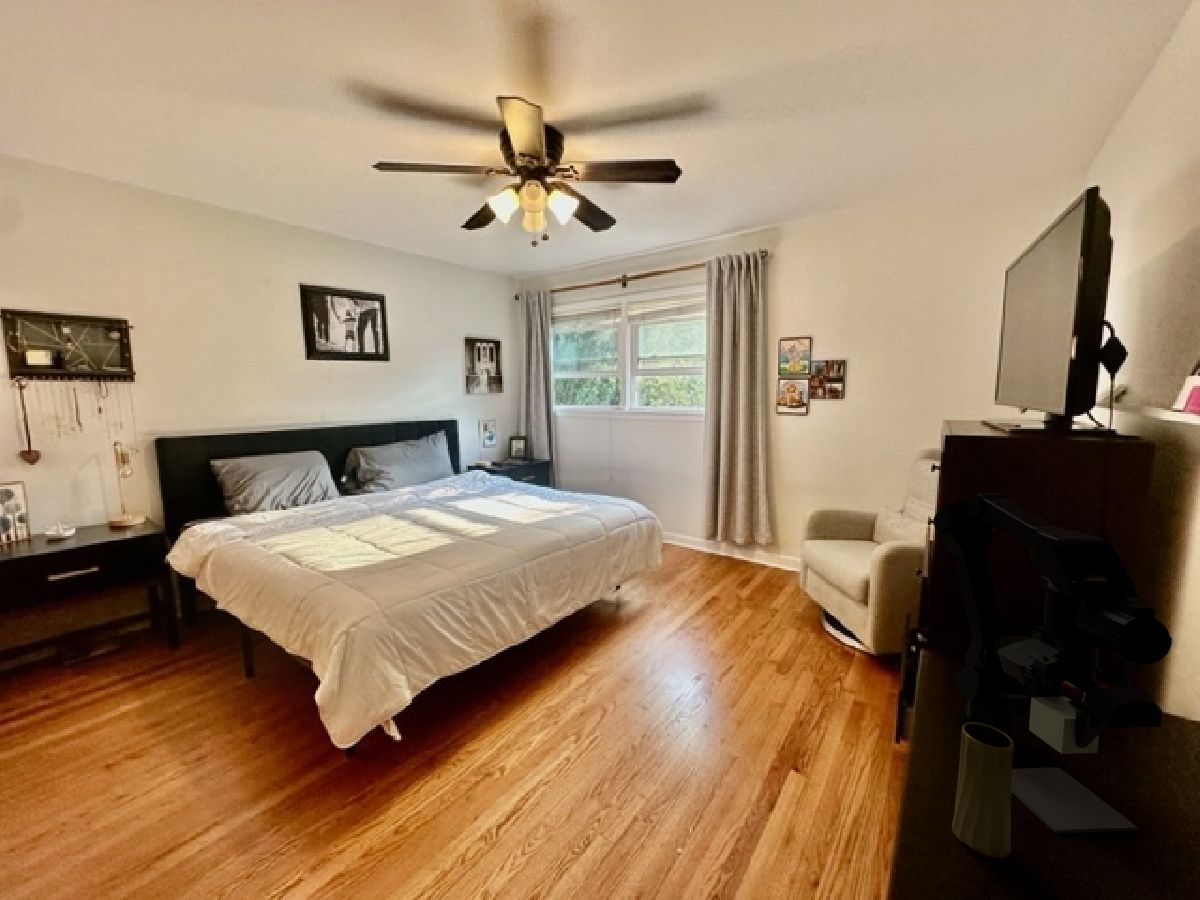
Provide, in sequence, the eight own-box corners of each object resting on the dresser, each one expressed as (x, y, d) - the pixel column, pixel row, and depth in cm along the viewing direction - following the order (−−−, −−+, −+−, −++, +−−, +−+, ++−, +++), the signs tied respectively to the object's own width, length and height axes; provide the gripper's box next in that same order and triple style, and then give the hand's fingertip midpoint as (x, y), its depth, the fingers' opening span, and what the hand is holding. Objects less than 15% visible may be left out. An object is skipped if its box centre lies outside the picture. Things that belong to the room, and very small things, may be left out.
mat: (988, 772, 77) (988, 769, 76) (1058, 770, 77) (1058, 767, 77) (1056, 833, 66) (1056, 829, 66) (1137, 830, 66) (1137, 827, 66)
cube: (1029, 730, 73) (1031, 697, 72) (1062, 729, 73) (1065, 696, 73) (1061, 753, 68) (1064, 718, 67) (1097, 752, 68) (1100, 718, 68)
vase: (953, 812, 69) (959, 714, 68) (1011, 836, 65) (1018, 732, 64) (949, 842, 64) (955, 737, 63) (1011, 870, 60) (1019, 758, 59)
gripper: (962, 601, 78) (957, 696, 79) (1080, 663, 59) (1070, 786, 61) (1032, 600, 78) (1025, 695, 80) (1171, 661, 60) (1159, 783, 61)
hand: (1062, 734), depth 70 cm, fingers closed on cube, 5 cm apart
